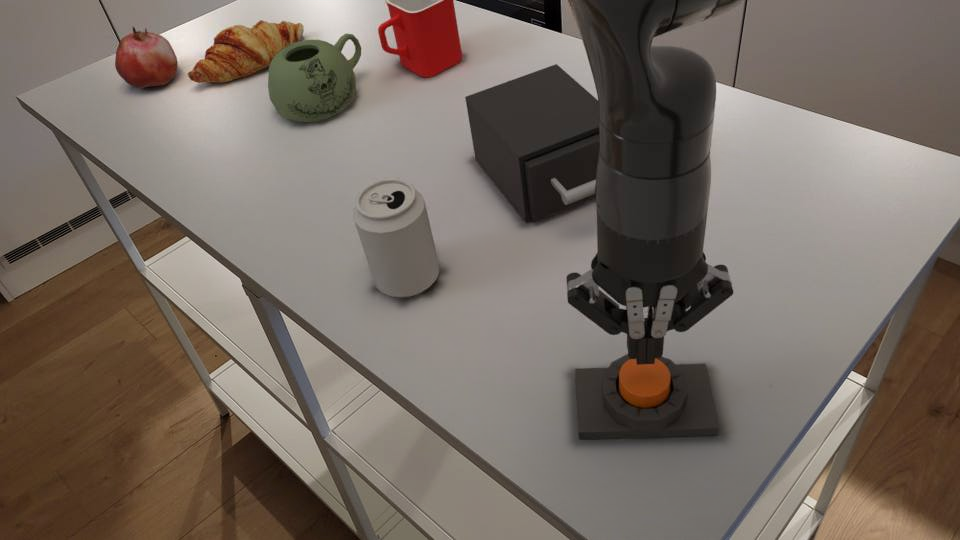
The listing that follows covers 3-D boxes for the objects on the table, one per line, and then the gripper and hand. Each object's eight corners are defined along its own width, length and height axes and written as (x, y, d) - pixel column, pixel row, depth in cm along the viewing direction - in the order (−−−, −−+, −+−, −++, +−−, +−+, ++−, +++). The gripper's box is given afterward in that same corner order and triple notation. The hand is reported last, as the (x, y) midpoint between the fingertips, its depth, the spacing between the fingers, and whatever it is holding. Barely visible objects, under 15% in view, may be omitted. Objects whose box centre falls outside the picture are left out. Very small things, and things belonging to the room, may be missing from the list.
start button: (666, 366, 68) (667, 354, 67) (672, 407, 65) (673, 395, 64) (617, 368, 69) (617, 356, 68) (621, 409, 66) (621, 397, 65)
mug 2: (436, 42, 122) (424, -22, 115) (468, 58, 117) (458, -8, 110) (376, 74, 117) (359, 9, 110) (406, 92, 112) (391, 25, 105)
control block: (704, 369, 71) (707, 349, 69) (718, 437, 66) (721, 417, 64) (575, 374, 72) (574, 355, 70) (579, 441, 67) (577, 422, 65)
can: (435, 302, 81) (414, 219, 73) (368, 302, 83) (340, 220, 74) (445, 254, 86) (427, 170, 78) (382, 254, 88) (357, 173, 79)
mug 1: (307, 139, 107) (288, 85, 101) (259, 109, 114) (239, 58, 108) (393, 88, 114) (381, 35, 108) (343, 63, 121) (329, 12, 115)
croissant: (301, 49, 133) (278, 6, 131) (323, 38, 125) (299, -8, 122) (195, 102, 124) (168, 57, 121) (211, 94, 116) (182, 45, 113)
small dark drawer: (639, 206, 87) (641, 151, 81) (551, 242, 84) (547, 188, 79) (564, 132, 99) (561, 79, 93) (486, 162, 96) (478, 110, 91)
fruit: (119, 85, 126) (90, 29, 119) (171, 61, 129) (145, 5, 122) (140, 104, 120) (111, 46, 113) (194, 78, 124) (168, 21, 117)
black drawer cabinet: (619, 185, 91) (619, 118, 84) (525, 223, 88) (518, 157, 82) (560, 127, 101) (556, 63, 94) (475, 160, 98) (464, 96, 92)
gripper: (556, 243, 50) (567, 395, 62) (763, 230, 48) (733, 389, 61) (553, 172, 55) (564, 326, 68) (740, 159, 54) (716, 318, 66)
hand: (644, 356), depth 64 cm, fingers closed
